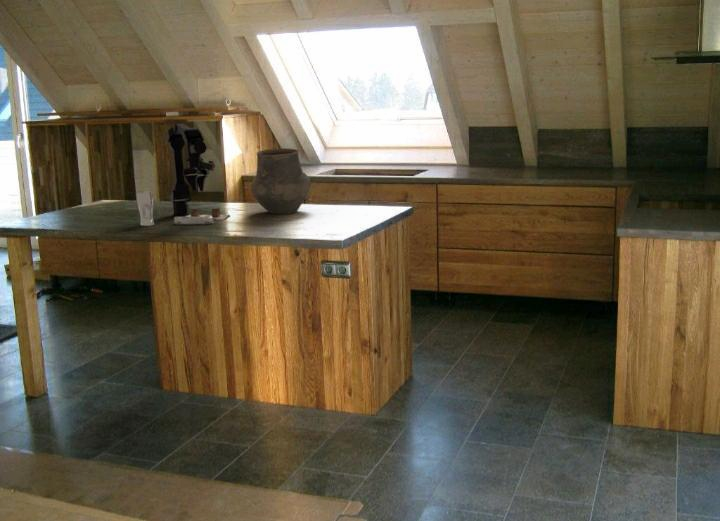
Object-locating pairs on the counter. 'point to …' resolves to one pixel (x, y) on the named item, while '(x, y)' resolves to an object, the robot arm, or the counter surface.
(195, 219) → the grey rod with balls
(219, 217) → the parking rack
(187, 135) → the robot arm
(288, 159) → the ceramic pot
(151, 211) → the beer glass
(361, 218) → the counter surface
